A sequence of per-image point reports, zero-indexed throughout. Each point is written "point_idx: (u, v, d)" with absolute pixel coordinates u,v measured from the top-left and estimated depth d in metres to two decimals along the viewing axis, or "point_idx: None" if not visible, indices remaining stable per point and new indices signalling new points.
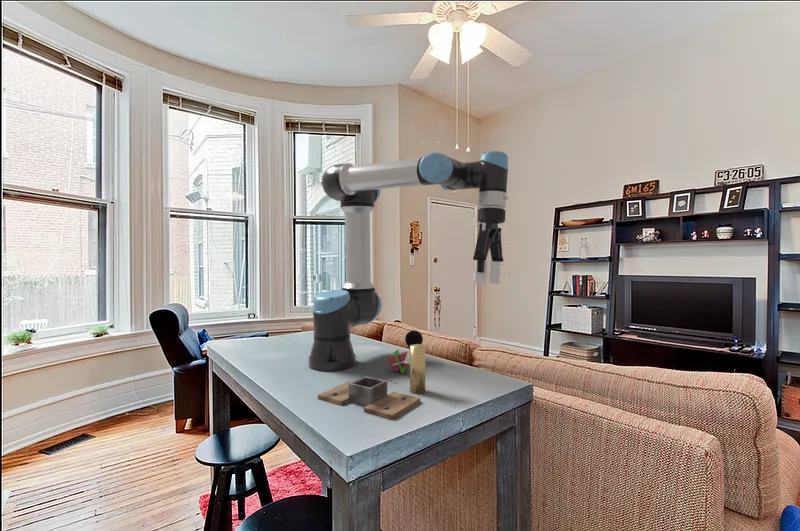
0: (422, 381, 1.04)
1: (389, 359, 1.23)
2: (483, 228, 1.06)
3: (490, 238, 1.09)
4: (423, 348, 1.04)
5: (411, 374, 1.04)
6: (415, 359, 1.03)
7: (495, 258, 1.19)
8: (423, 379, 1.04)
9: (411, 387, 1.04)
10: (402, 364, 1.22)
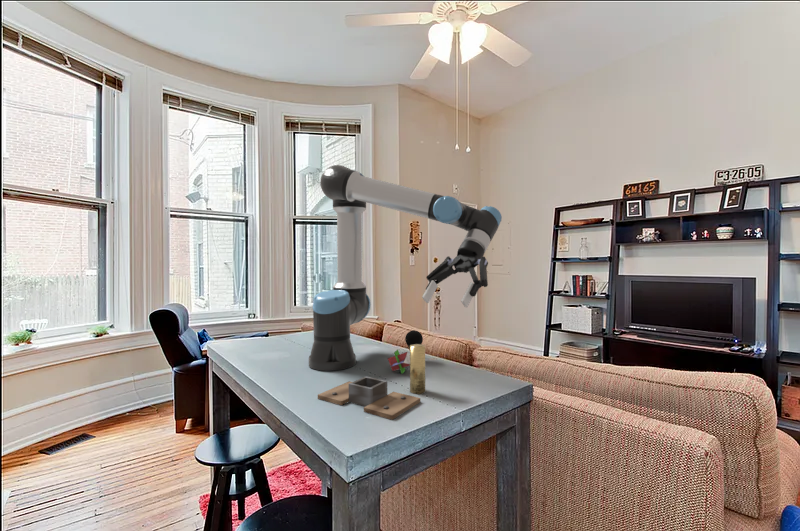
0: (422, 381, 1.04)
1: (389, 359, 1.23)
2: (485, 262, 1.14)
3: (474, 271, 1.16)
4: (423, 348, 1.04)
5: (411, 374, 1.04)
6: (415, 359, 1.03)
7: (434, 280, 1.21)
8: (423, 379, 1.04)
9: (411, 387, 1.04)
10: (402, 364, 1.22)
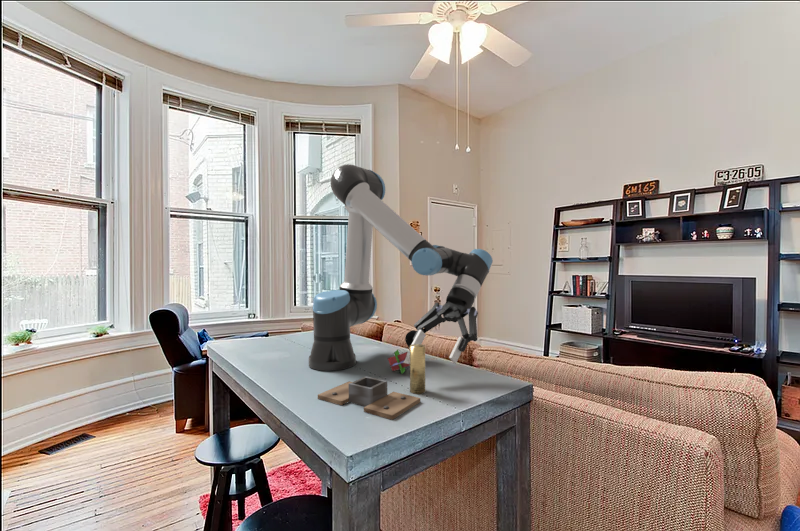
0: (422, 381, 1.04)
1: (389, 359, 1.23)
2: (475, 313, 1.10)
3: (464, 321, 1.11)
4: (423, 348, 1.04)
5: (411, 374, 1.04)
6: (415, 359, 1.03)
7: (422, 329, 1.16)
8: (423, 379, 1.04)
9: (411, 387, 1.04)
10: (402, 364, 1.22)
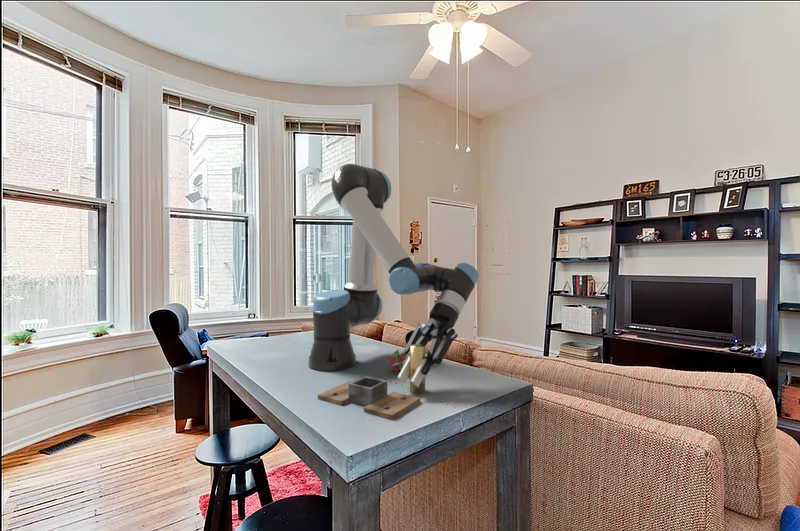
0: (422, 381, 1.04)
1: (389, 359, 1.23)
2: (452, 336, 1.06)
3: (441, 341, 1.08)
4: (423, 348, 1.04)
5: (411, 374, 1.04)
6: (415, 359, 1.03)
7: None
8: (423, 379, 1.04)
9: (411, 387, 1.04)
10: (402, 364, 1.22)
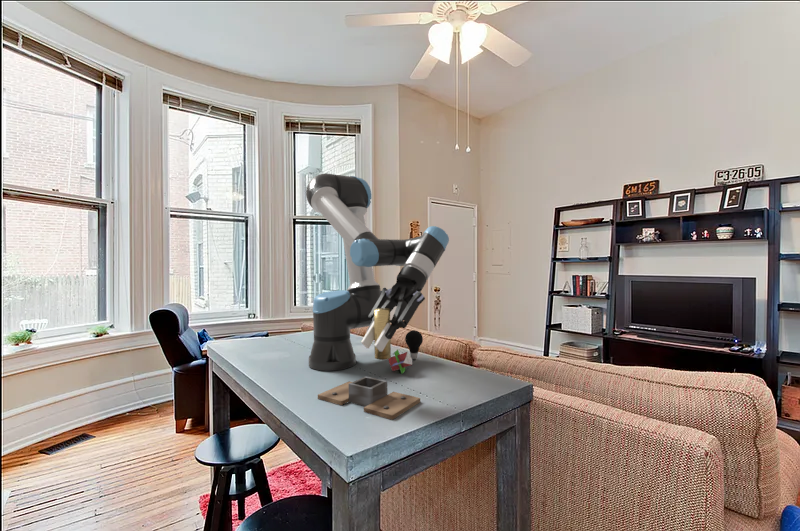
0: (386, 346, 0.98)
1: (389, 359, 1.23)
2: (419, 299, 1.00)
3: None
4: (388, 311, 0.98)
5: (375, 339, 0.99)
6: (380, 323, 0.98)
7: None
8: (388, 344, 0.99)
9: (375, 353, 0.99)
10: (402, 364, 1.22)
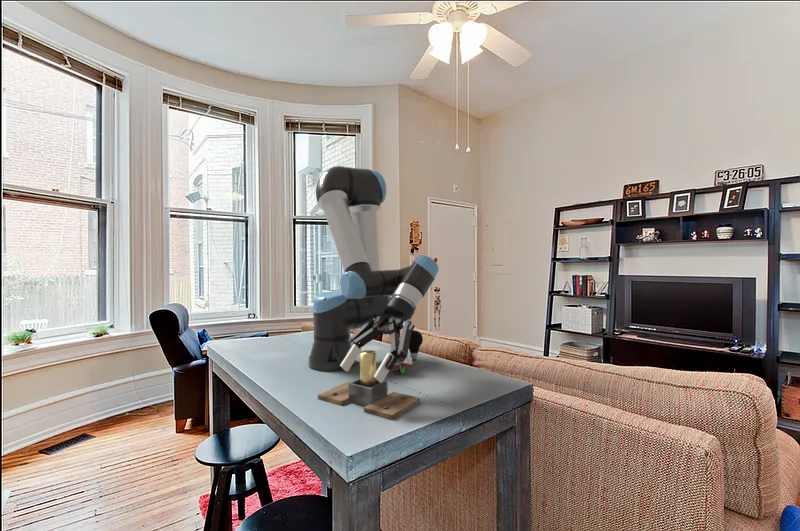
0: None
1: None
2: (410, 327, 1.00)
3: (399, 335, 1.01)
4: (373, 355, 0.98)
5: (361, 382, 0.98)
6: (365, 366, 0.97)
7: (357, 343, 1.05)
8: None
9: None
10: (402, 364, 1.22)
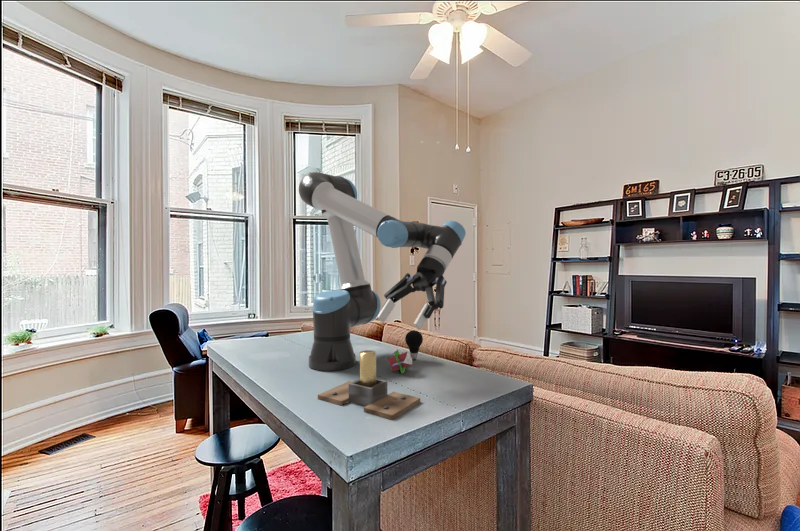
0: None
1: (389, 359, 1.23)
2: (443, 282, 1.09)
3: (432, 290, 1.10)
4: (373, 355, 0.98)
5: (361, 382, 0.98)
6: (365, 366, 0.97)
7: (392, 298, 1.15)
8: None
9: None
10: (402, 364, 1.22)
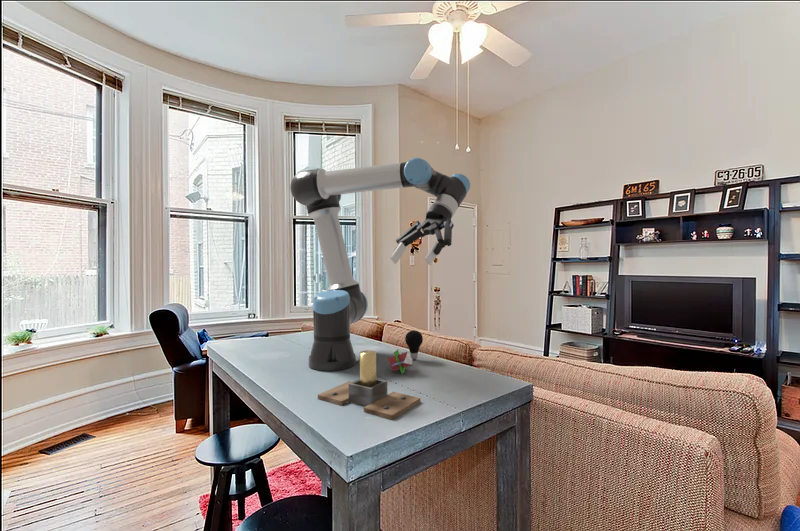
0: None
1: (389, 359, 1.23)
2: (450, 224, 1.19)
3: (441, 233, 1.21)
4: (373, 355, 0.98)
5: (361, 382, 0.98)
6: (365, 366, 0.97)
7: (403, 242, 1.25)
8: None
9: None
10: (402, 364, 1.22)
